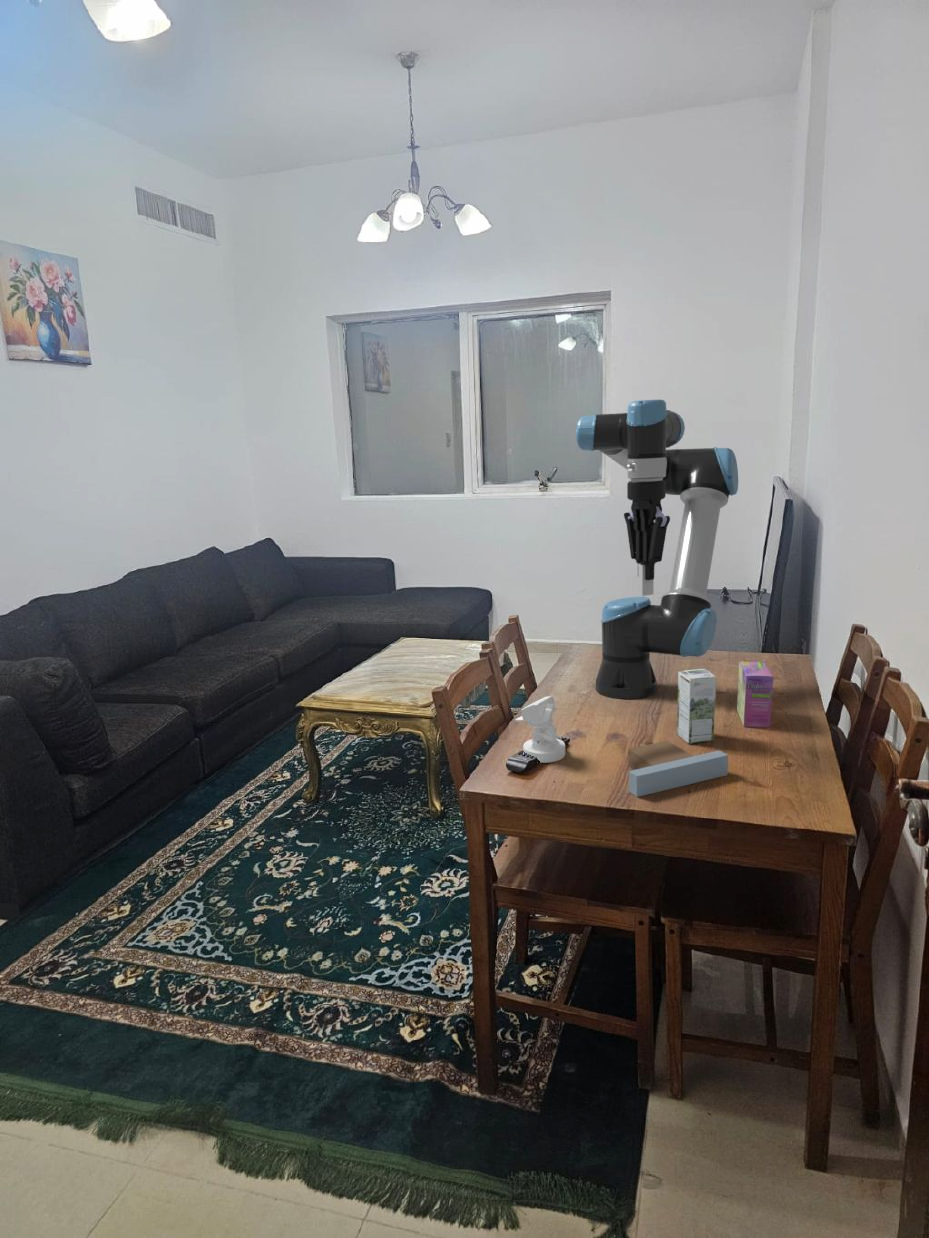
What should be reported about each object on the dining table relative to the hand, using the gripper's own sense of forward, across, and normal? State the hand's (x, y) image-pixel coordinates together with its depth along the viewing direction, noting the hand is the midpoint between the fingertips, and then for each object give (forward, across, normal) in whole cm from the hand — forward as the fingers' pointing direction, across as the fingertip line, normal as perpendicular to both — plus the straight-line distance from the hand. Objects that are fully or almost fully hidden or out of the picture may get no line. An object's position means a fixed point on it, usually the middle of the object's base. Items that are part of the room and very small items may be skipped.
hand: (645, 594), depth 160 cm
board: (+30, +24, -9) cm, 40 cm away
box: (+31, +5, +25) cm, 40 cm away
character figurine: (+31, 0, -25) cm, 40 cm away
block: (+31, +18, -9) cm, 37 cm away
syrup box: (+31, +8, +7) cm, 32 cm away
